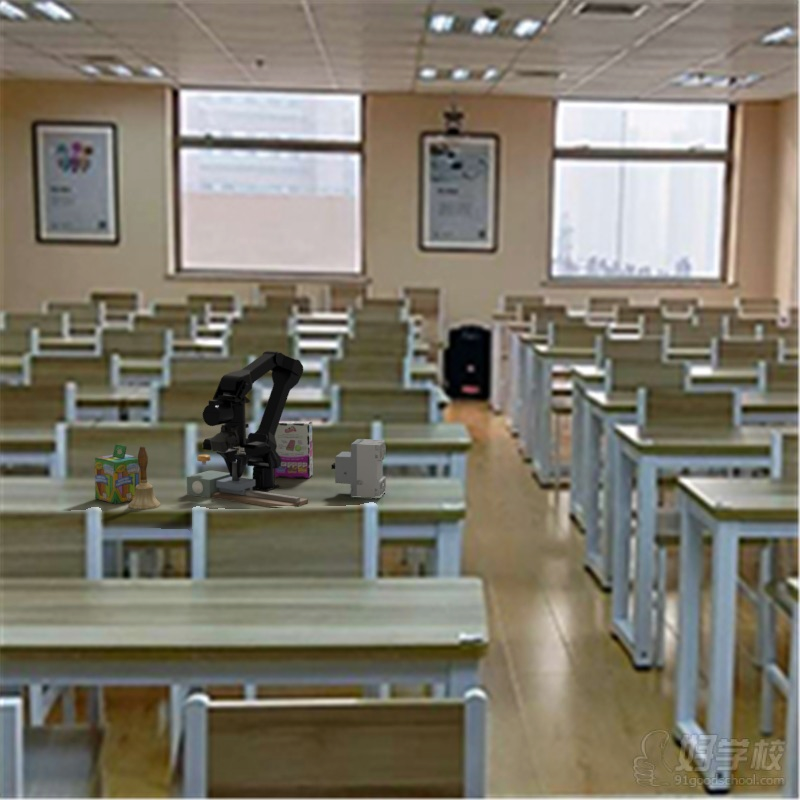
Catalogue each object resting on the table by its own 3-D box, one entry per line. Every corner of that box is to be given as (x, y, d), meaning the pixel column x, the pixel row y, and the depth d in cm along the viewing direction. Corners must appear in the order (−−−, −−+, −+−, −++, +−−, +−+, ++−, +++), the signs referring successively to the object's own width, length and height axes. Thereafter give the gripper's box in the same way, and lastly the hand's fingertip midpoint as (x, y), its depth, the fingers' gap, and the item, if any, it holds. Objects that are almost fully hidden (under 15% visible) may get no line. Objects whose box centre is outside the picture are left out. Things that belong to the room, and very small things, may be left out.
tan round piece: (203, 462, 328) (202, 454, 328) (213, 463, 326) (213, 455, 326) (194, 464, 325) (194, 456, 325) (204, 466, 323) (204, 457, 323)
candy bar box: (313, 475, 350) (313, 421, 347) (309, 478, 345) (309, 423, 343) (276, 473, 351) (276, 419, 349) (272, 477, 346) (272, 422, 344)
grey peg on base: (232, 487, 326) (232, 458, 325) (255, 491, 322) (255, 461, 321) (216, 492, 320) (216, 462, 319) (239, 496, 316) (239, 466, 315)
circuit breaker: (336, 490, 330) (336, 437, 328) (385, 492, 327) (385, 440, 325) (329, 496, 323) (329, 442, 321) (379, 498, 320) (379, 445, 318)
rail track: (231, 491, 328) (231, 483, 327) (308, 502, 315) (308, 494, 315) (210, 497, 320) (210, 489, 320) (288, 509, 307) (288, 501, 307)
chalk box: (94, 499, 317) (92, 445, 315) (122, 493, 324) (120, 441, 322) (115, 504, 311) (113, 450, 309) (143, 498, 318) (142, 445, 316)
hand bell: (152, 510, 306) (151, 450, 303) (123, 508, 307) (121, 448, 305) (165, 502, 314) (164, 444, 311) (136, 501, 315) (135, 443, 313)
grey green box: (210, 487, 332) (210, 470, 331) (232, 490, 328) (232, 473, 328) (186, 494, 323) (185, 476, 323) (208, 498, 319) (208, 480, 319)
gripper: (188, 422, 316) (190, 478, 318) (244, 428, 307) (245, 486, 309) (215, 416, 326) (216, 471, 328) (269, 422, 316) (270, 478, 319)
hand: (235, 476), depth 321 cm, fingers closed on grey peg on base, 2 cm apart
